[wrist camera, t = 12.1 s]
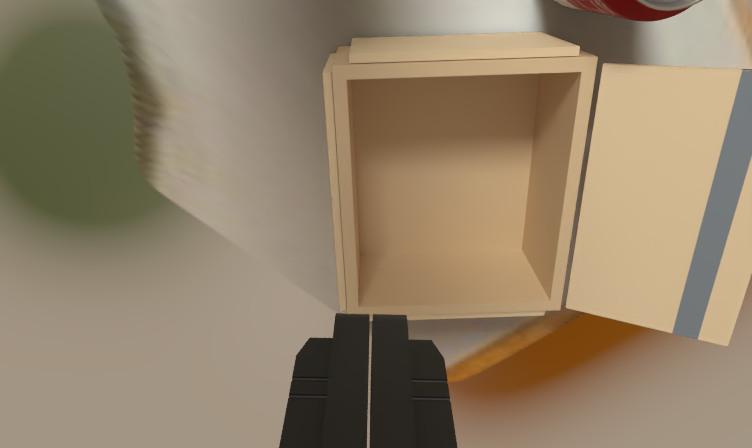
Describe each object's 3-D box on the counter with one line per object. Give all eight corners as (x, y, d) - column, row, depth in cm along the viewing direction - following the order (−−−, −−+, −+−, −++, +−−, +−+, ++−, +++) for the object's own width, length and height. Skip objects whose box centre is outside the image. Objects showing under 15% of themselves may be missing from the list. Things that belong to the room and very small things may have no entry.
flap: (602, 64, 29) (817, 74, 25) (604, 62, 30) (814, 72, 25) (565, 308, 36) (727, 346, 32) (566, 304, 37) (727, 341, 33)
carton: (329, 38, 36) (320, 55, 29) (553, 30, 36) (599, 46, 29) (344, 265, 44) (340, 324, 37) (527, 259, 44) (559, 316, 37)
